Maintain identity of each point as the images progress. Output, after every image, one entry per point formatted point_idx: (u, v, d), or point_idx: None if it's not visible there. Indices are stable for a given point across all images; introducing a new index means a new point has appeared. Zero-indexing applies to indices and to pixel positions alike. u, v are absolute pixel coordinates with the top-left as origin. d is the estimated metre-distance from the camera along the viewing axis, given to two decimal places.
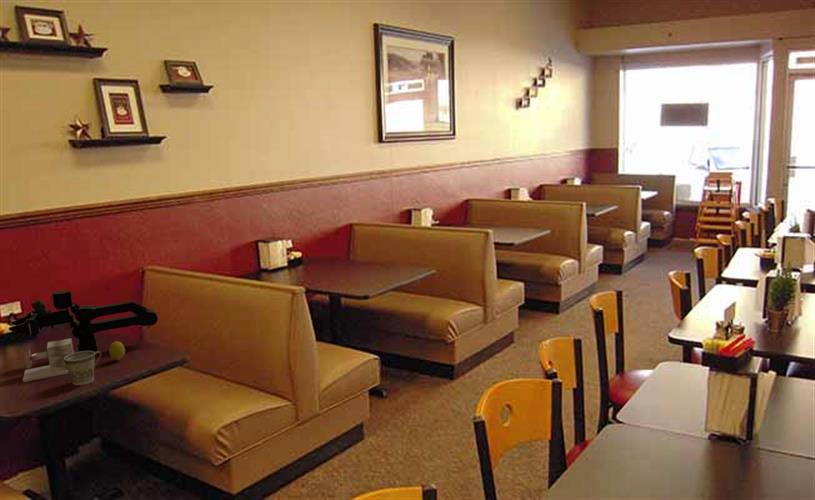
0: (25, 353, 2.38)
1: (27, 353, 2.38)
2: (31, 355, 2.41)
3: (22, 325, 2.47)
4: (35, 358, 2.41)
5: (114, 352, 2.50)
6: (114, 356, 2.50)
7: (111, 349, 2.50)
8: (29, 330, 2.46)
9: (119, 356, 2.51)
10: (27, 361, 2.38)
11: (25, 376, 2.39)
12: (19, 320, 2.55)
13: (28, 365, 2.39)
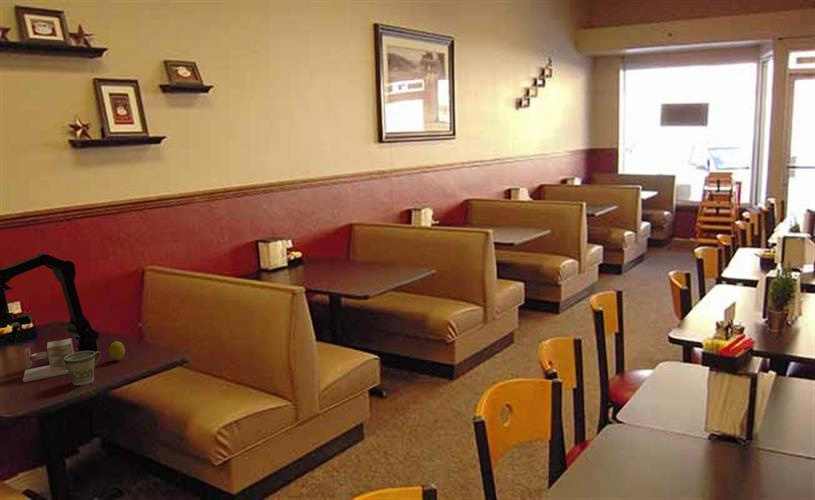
0: (25, 353, 2.38)
1: (27, 353, 2.38)
2: (31, 355, 2.41)
3: None
4: (35, 358, 2.41)
5: (114, 352, 2.50)
6: (114, 356, 2.50)
7: (111, 349, 2.50)
8: None
9: (119, 356, 2.51)
10: (27, 361, 2.38)
11: (25, 376, 2.39)
12: None
13: (28, 365, 2.39)
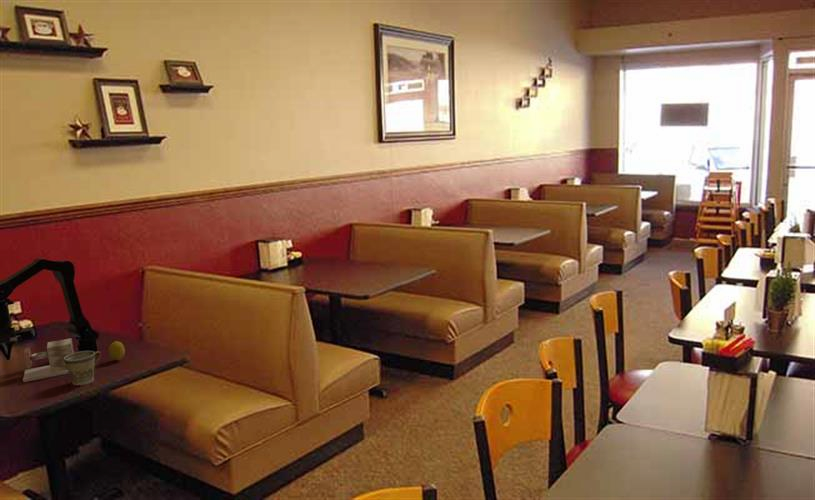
0: (25, 353, 2.38)
1: (27, 353, 2.38)
2: (31, 355, 2.41)
3: None
4: (35, 358, 2.41)
5: (114, 352, 2.50)
6: (114, 356, 2.50)
7: (111, 349, 2.50)
8: (16, 339, 2.40)
9: (119, 356, 2.51)
10: (27, 361, 2.38)
11: (25, 376, 2.39)
12: (6, 352, 2.37)
13: (28, 365, 2.39)
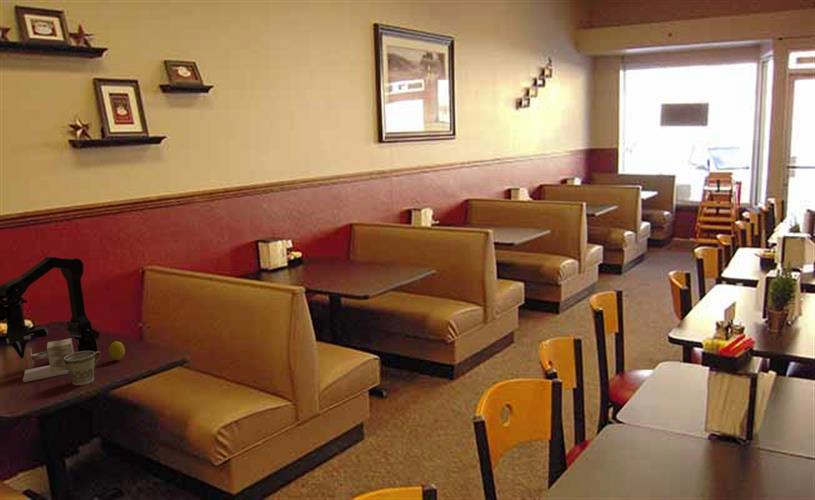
0: (27, 353, 2.38)
1: (29, 353, 2.38)
2: (33, 355, 2.41)
3: None
4: (37, 358, 2.41)
5: (114, 352, 2.50)
6: (114, 356, 2.50)
7: (111, 349, 2.50)
8: (30, 337, 2.41)
9: (119, 356, 2.51)
10: (29, 361, 2.39)
11: (25, 376, 2.39)
12: (20, 350, 2.39)
13: (30, 365, 2.39)
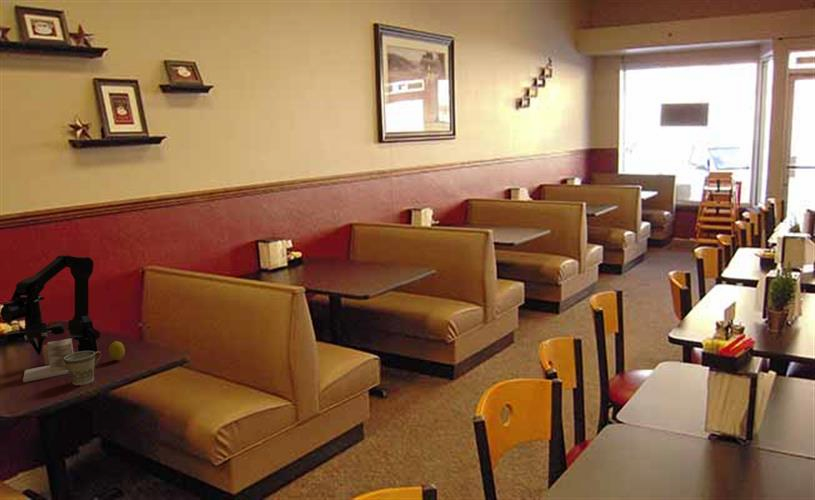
0: (44, 350, 2.40)
1: (46, 350, 2.41)
2: None
3: None
4: None
5: (114, 352, 2.50)
6: (114, 356, 2.50)
7: (111, 349, 2.50)
8: (47, 334, 2.44)
9: (119, 356, 2.51)
10: (46, 358, 2.41)
11: (25, 376, 2.39)
12: None
13: (47, 362, 2.41)
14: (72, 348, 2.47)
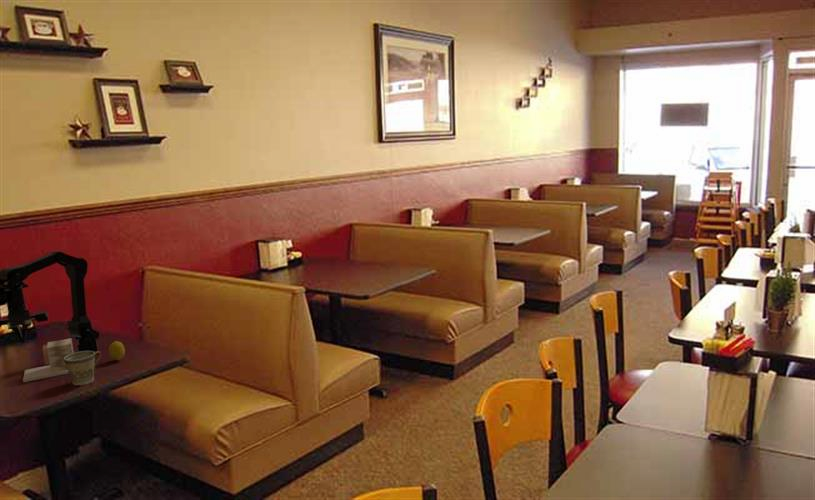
0: (44, 350, 2.40)
1: (46, 350, 2.41)
2: None
3: None
4: None
5: (114, 352, 2.50)
6: (114, 356, 2.50)
7: (111, 349, 2.50)
8: (31, 322, 2.42)
9: (119, 356, 2.51)
10: (46, 358, 2.41)
11: (25, 376, 2.39)
12: (21, 335, 2.40)
13: (47, 362, 2.41)
14: (72, 348, 2.47)
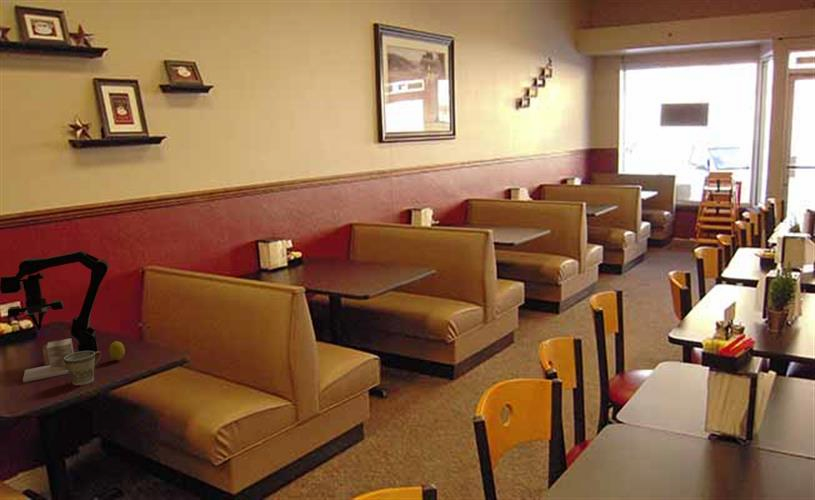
0: (44, 350, 2.40)
1: (46, 350, 2.41)
2: None
3: None
4: None
5: (114, 352, 2.50)
6: (114, 356, 2.50)
7: (111, 349, 2.50)
8: (47, 310, 2.58)
9: (119, 356, 2.51)
10: (46, 358, 2.41)
11: (25, 376, 2.39)
12: (37, 322, 2.56)
13: (47, 362, 2.41)
14: (72, 348, 2.47)
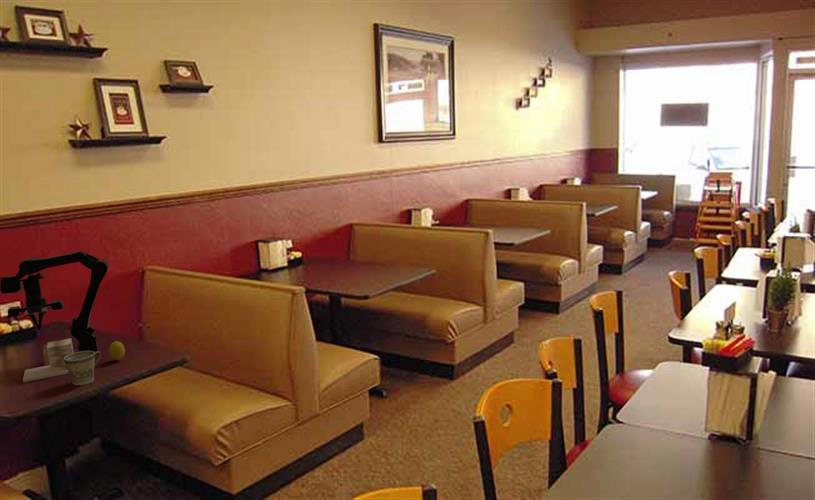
0: (44, 350, 2.40)
1: (46, 350, 2.41)
2: None
3: None
4: None
5: (114, 352, 2.50)
6: (114, 356, 2.50)
7: (111, 349, 2.50)
8: (47, 310, 2.58)
9: (119, 356, 2.51)
10: (46, 358, 2.41)
11: (25, 376, 2.39)
12: (37, 322, 2.56)
13: (47, 362, 2.41)
14: (72, 348, 2.47)
